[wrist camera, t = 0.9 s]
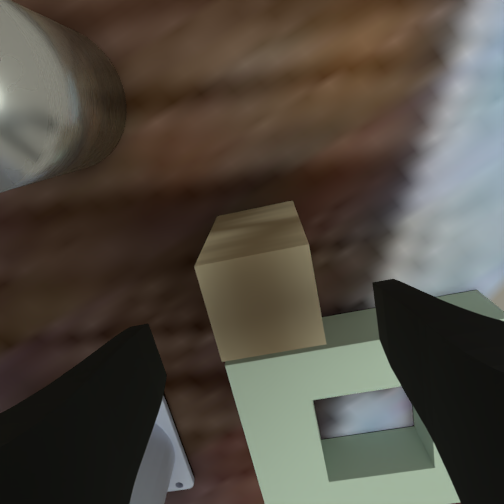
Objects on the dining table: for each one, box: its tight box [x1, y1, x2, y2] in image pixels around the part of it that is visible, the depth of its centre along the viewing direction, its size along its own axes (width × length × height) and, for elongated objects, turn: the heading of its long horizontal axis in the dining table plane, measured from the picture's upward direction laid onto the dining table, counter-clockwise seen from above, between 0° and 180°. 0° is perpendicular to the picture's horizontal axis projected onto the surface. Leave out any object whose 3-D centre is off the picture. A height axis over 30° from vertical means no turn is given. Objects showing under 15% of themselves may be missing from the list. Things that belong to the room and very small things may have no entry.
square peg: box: [194, 201, 326, 362], centre depth 17 cm, size 4×4×7 cm
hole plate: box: [225, 290, 504, 504], centre depth 22 cm, size 14×12×3 cm
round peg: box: [0, 0, 126, 192], centre depth 14 cm, size 6×6×7 cm
